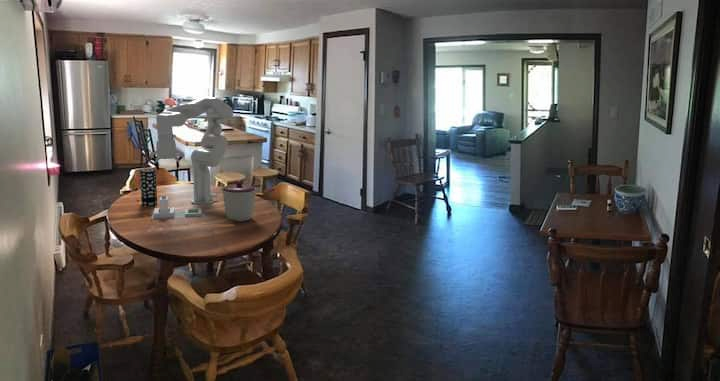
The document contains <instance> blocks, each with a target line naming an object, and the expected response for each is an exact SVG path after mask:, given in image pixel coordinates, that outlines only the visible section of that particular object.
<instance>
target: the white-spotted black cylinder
mask: <svg viewBox="0 0 720 381" xmlns="http://www.w3.org/2000/svg"><path fill="white" fill-rule="evenodd" d="M139 177H140V178H139V179H140V180H139V181H140V198H141V200H140V201H141V206H142V207H144V208H145V207H146V208H147V207H149V208H150V207H156V206H158V193H157V192H158V191H157V190H158V189H157V188H158V187H157V171H156V169H153V168H147V169H146V168H145V169H140V170H139Z"/></svg>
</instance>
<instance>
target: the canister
mask: <svg viewBox="0 0 720 381" xmlns="http://www.w3.org/2000/svg"><path fill="white" fill-rule="evenodd" d="M243 182H244V181H243V180H236V181H235V183H234V184H228V185H225V186H224V187H222V188H221V192H222V195H223V196H222V197H223V203H224V204H223V205H224V210H225V215H226V218H227V219H229V220H233V222H239V223H240V222H246V221H249V220H251V219H252V217H253V214H254V208H255V199H256V198H255V197H256V192H257V189H258V188H257V187H255V186H253V185H251V184H245V183H243Z"/></svg>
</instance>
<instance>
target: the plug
mask: <svg viewBox="0 0 720 381" xmlns="http://www.w3.org/2000/svg"><path fill="white" fill-rule="evenodd" d="M159 208H160V212H169V208H170V207H169V196H167V195H161V196H160V197H159Z"/></svg>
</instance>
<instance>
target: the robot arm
mask: <svg viewBox="0 0 720 381" xmlns="http://www.w3.org/2000/svg"><path fill="white" fill-rule="evenodd" d="M203 114H205V115H206V119H207V127H206V130H205V132H204V133H203V135H202V138H201V140H200V146H201V148H197V149H194V150H192V152H191V155H190V162H191V164H192V173H193V174H192V175H193V176H192V178H193V180H192V181H193V199H191V201H190V202H191V204H193V205H198V206H199V205H210V204H212V203H215V202H214V198H218V197H219V196H218V194H217V193H214V194H213V193H211V192H212V191H211V171H210V168H209V167H211V168H215V167H218V166H219V165H220V163H221V162H222V160H223V158H224V156H225V153H226V151H227V148H228V143H229V142H228V139H227V137H226V136H225V135H222V131H223V128H222V124H221V122H220V120H221V121H230V120H231V119H233V116H234V110H233V108H232V107H231V106H230V105H229V104H228V103H226V102H225V101H223V100H222V99H221V98H219V97H216V96H215V97H214V96H202V97H199V98H196V99H194V100H192V101H190V102H188V103H183V104H180V105H176V106H173V107H169V108H167V109H164V110H163V111H161V112H160V113H158V114H156V117H155V118H156V130H157V139H156V141H155V142H156V143H155V144H156V146H155V147H156V148H155V149H156V150H155V151H153V152H151V153H149V154H148V155H149V157H150V159H151V160H152V161H153V162H154V163H155V167H156V169H157V171H160V163H159V161H160V160H173V159H174V160H176V162H175V163H176V169H177V170H179V168H180V161H181V160H182V159H183V157H184V155H185V153H184V152H183V151H180V150H178V149H177V145H176V144H177V143H176V139H174V138H177V136H176V134H174V133H173V132H174V131H173V127H177V128H178V127H182V126H184V125H185V124H186V122H187V120H188V119H194V118H197V117H200V116H201V115H203ZM178 154H179V157H178ZM154 155H156V158H155V157H154Z"/></svg>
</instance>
